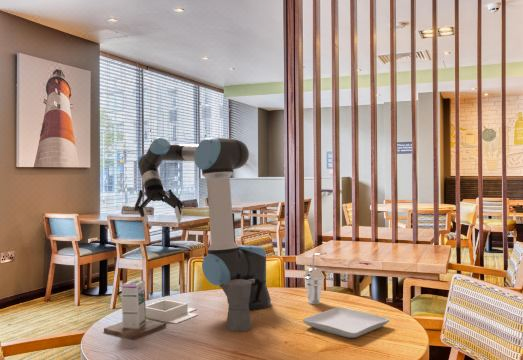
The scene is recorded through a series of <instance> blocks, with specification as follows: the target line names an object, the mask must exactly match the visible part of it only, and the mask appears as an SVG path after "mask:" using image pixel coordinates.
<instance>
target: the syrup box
mask: <svg viewBox="0 0 523 360" xmlns="http://www.w3.org/2000/svg"><path fill="white" fill-rule="evenodd" d="M121 305H122V306H121V308H122V309H121V311H122V322H123V328H130V329H139V328H140V327H141V326H143V325H144V324H145V323H146V319H147V318H146V308H145V306H146V284H145V280H140V279H139V280H137V279H136V280H129V281H127V282H125V283H122V284H121Z"/></svg>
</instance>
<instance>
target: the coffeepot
mask: <svg viewBox="0 0 523 360" xmlns="http://www.w3.org/2000/svg"><path fill="white" fill-rule="evenodd" d="M240 275H241V274H239V273H238V274H236V277H237V279H234V280H230V281H226V282H225V283H223V284H221V285H220V286H219V288H221V290H222V291H223V292H224V294H225V296H226V299H227V304H228V310H227V317H226V322H225V323H226V324H225V330H228V331H229V332H239V333H240V332H247V331H250V330H251V329H252V328H253V325H252V324H253V323H252V320H251V313H250V311H251V310H249V300H250V292H251V285H255V284H258V287H257V292H256V294H255V300H253V301H252V303H257V302H258V300H259V296H260V293H261V289H262V286H263V283H262V282H261V281H260V280H259V279H258V278H257V279H249V280H244V279H240Z"/></svg>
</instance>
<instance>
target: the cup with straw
mask: <svg viewBox="0 0 523 360" xmlns="http://www.w3.org/2000/svg"><path fill="white" fill-rule="evenodd" d="M327 254H328V253H327V252H320V253H314V254H312V267H309V268H308V269H307V270H306V271H305V273H304V275H303V277H302V279H303V280H304V281H305V285H306V293H307V300H308V304H311V305H318V304H320V303H321V298H322V297H321V296H322V295H321V294H322V288H323V287H322V286H323V281H324V279H325V278H326V277H325V275H324V274H323V272H322V270H321V269H320V268H318V267H315V257H316V256H317V257H318V256H324V255H327Z"/></svg>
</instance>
